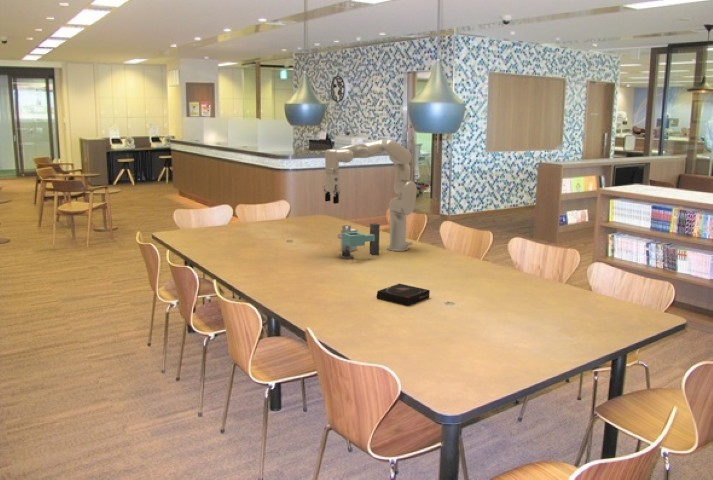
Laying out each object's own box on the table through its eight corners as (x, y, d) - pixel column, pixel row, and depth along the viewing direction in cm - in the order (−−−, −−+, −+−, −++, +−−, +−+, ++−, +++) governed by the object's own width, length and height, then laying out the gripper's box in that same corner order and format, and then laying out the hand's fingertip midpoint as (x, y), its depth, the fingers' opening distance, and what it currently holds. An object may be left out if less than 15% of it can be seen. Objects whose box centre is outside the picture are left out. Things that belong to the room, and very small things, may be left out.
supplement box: (349, 251, 368) (350, 230, 366) (340, 250, 372) (340, 229, 370) (357, 249, 374) (357, 229, 371) (347, 248, 378) (347, 227, 376)
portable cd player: (398, 291, 288) (398, 283, 288) (429, 298, 278) (429, 290, 277) (376, 299, 276) (376, 290, 275) (408, 307, 265) (408, 298, 265)
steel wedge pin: (375, 253, 365) (376, 223, 361) (378, 254, 361) (379, 224, 358) (369, 254, 363) (370, 223, 359) (372, 255, 359) (373, 224, 356)
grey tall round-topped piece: (350, 254, 361) (350, 223, 357) (358, 258, 352) (358, 226, 349) (334, 256, 356) (334, 225, 353) (342, 259, 348) (342, 228, 344)
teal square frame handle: (369, 241, 355) (369, 230, 353) (377, 244, 347) (377, 233, 345) (342, 243, 347) (342, 233, 346) (349, 246, 339) (349, 236, 338)
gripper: (345, 172, 342) (345, 203, 345) (330, 170, 357) (330, 200, 360) (333, 173, 338) (333, 204, 342) (318, 170, 353) (318, 200, 356)
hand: (331, 202), depth 351 cm, fingers open, 9 cm apart
